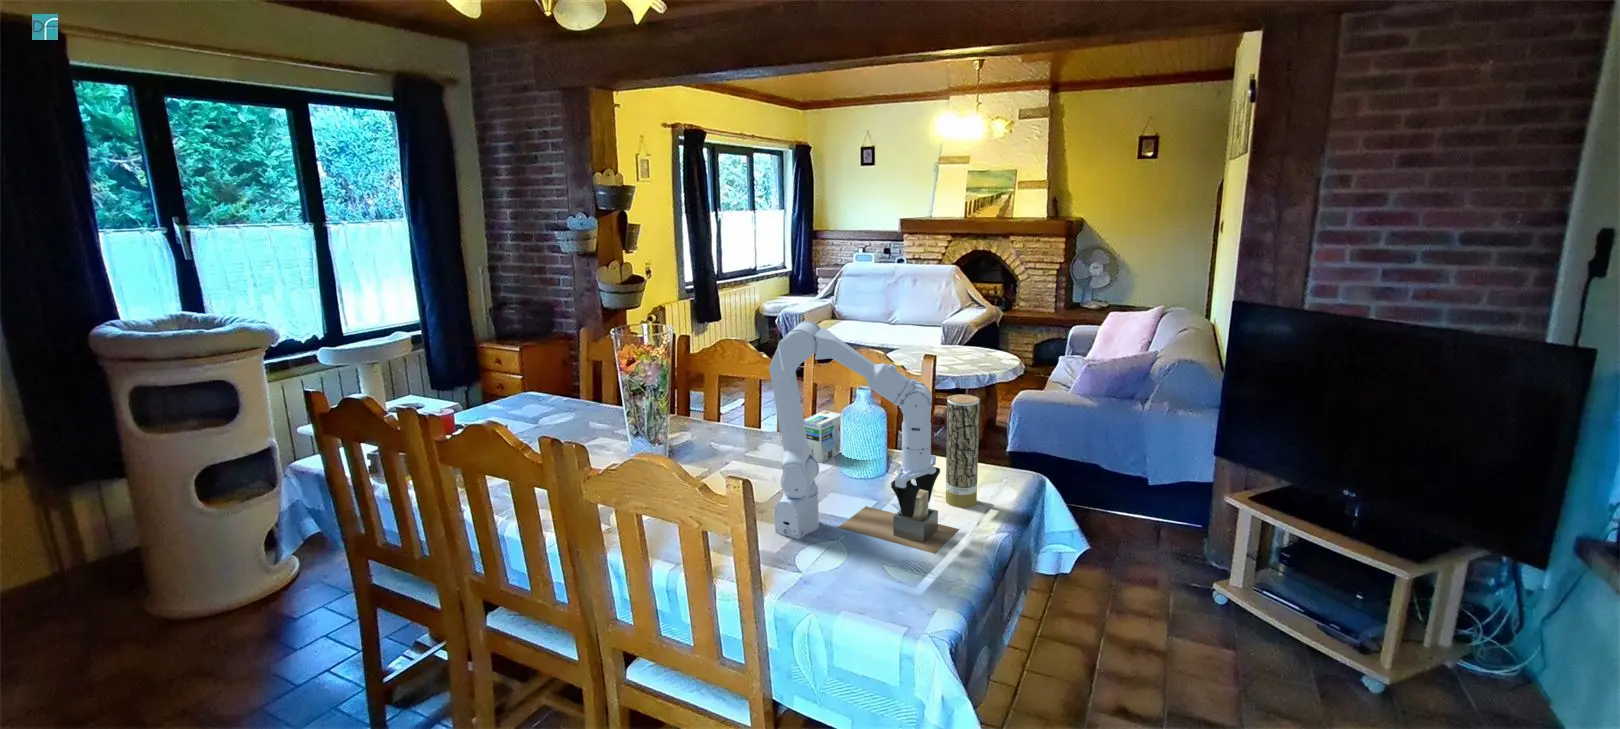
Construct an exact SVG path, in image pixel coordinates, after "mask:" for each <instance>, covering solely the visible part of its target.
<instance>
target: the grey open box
mask: <svg viewBox="0 0 1620 729" xmlns="http://www.w3.org/2000/svg"><path fill="white" fill-rule="evenodd" d="M938 524H939V510H936V509H932V508H929V507H928V517H927V518H926V519H925V520H924V521H918V520H914V519H910V518H906V517H902V512H901V509H900V510H899V511H898V512H896V514H895V515H894V516H893V535H894V536H898V537H901V538H905V539H909V540H913V541H917V542H921V543H925V542H926V541H927V540H928V539H929V538H930V537H931V536H932V535H933V534H934V533H935V532H936V531H937V530H938Z"/></svg>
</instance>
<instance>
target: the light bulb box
mask: <svg viewBox="0 0 1620 729" xmlns="http://www.w3.org/2000/svg"><path fill="white" fill-rule="evenodd" d="M841 414H842V413H839V412H833V411H829V410H822V411H820V412H818V413H815V414H813V415H811V416H809V417H807V418H805V419H804V418H803V419H804V425H805V431H806V437H807V443H808V445H809V446H810V447H811V449H812V454H813V456H814V458H815V459H816V460H817V462H818V463H819V464H820V463H821V464H822V463H824V462H826V461H828V460H831V459H833V458H835V457H837V456H838V455H840V454H839V451H840V415H841Z"/></svg>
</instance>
